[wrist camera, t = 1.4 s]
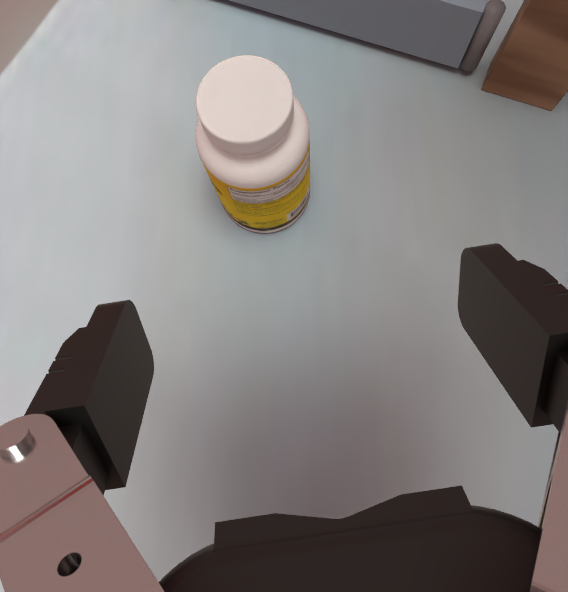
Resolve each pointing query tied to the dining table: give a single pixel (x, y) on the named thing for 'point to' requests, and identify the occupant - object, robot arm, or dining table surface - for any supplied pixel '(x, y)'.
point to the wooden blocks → (533, 56)
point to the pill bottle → (254, 142)
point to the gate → (403, 24)
